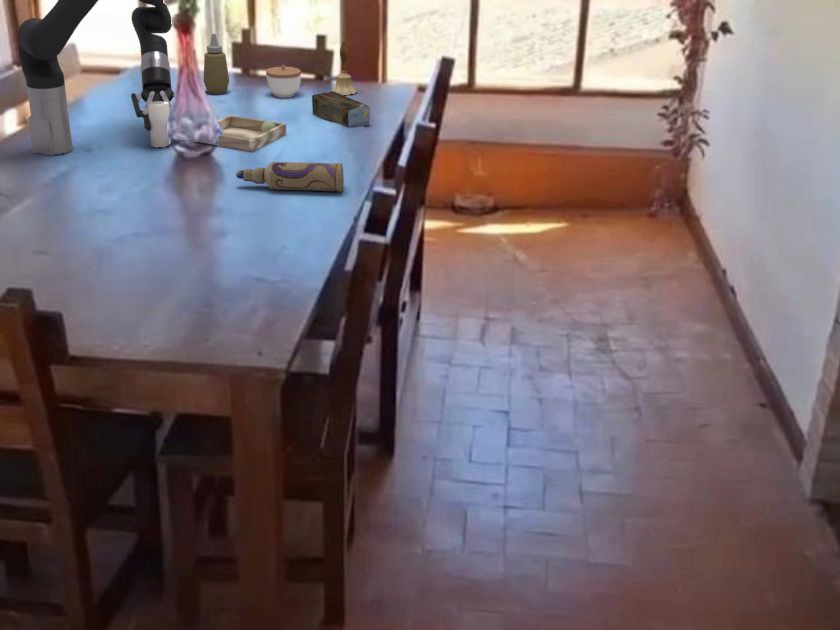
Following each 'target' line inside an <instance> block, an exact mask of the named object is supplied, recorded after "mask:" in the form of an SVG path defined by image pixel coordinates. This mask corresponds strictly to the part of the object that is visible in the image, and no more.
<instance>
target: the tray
mask: <svg viewBox="0 0 840 630" xmlns="http://www.w3.org/2000/svg"><path fill="white" fill-rule="evenodd" d="M217 121H218V123H219V124H220V127H221V129H222V130H223V135H219V137H218V146H217V147H219V148H220V147H221V148H227V149H232V150H238V151H239V150H240V151H245V152H251V153H254V152H256V151H257V150H259V149H261V148H263V147H265V146H267V145H269V144H270V143H272V142H274V141H276V140H278V139H280V138H282V137H283V136H286V135H287V123H283V122H276V121H272V122H273V123H274V124H275V126H276V127H275V128H273V129H271V130H269V131H267V132H265V133H263V132H262V130H261V126H262V124H263V123H264V122H266V121H267V120H263V119H258V118H257V119H256V118H249V117H243V116H237V115H236V116H235V115H230V114H229V115H228V116H225V117H223V118H221V119H218V120H217Z"/></svg>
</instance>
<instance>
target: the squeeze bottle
mask: <svg viewBox="0 0 840 630" xmlns="http://www.w3.org/2000/svg"><path fill="white" fill-rule="evenodd" d="M206 51H207V52H206V53H204V59H203V84H204V87H205V89H206V91H207V93H208V94H212V95H223V94H225V93H227V92H228V87H229V84H230V77H229V70H228V64H227V56H226V53H225V52H223V46H222V45H221V44H219V41H218V38H217V35H216V33H211V36H210V44H208V45H207V46H206Z"/></svg>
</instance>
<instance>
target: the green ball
mask: <svg viewBox="0 0 840 630" xmlns="http://www.w3.org/2000/svg"><path fill="white" fill-rule="evenodd" d="M265 121H266V122H264V123H263V124H262V126H261V130H262V132H263V133H265V132H267V131H269V130H271V129H273V128H275V127H276V126H275V124H274V123H273V122H274V121H271V120H265Z"/></svg>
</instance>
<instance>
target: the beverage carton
mask: <svg viewBox="0 0 840 630" xmlns="http://www.w3.org/2000/svg"><path fill="white" fill-rule="evenodd" d="M311 105H312V114H313V115H315V116H317V117H318V118H321V119H323V120H326V121H328V122H331V123H335V124H340V125H343V126H344V127H348V128H352V127H357V126H358V127H361V126H364V125H369V124H370V125H371V122H370V120H371V119H370V118H371V117H370V115H371V114H370V108H371V107H370V106H369V105H367V104H365V103H362V102H360V101H357V100H356V99H353V98H351V97H348V96H347V95H346V96H344V95H341V94H339V93H336V92H334V91H332V90H331V91H327V92H321V93H315V94H313V95H312V96H311ZM370 125H369V126H370ZM364 127H365V126H364Z"/></svg>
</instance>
